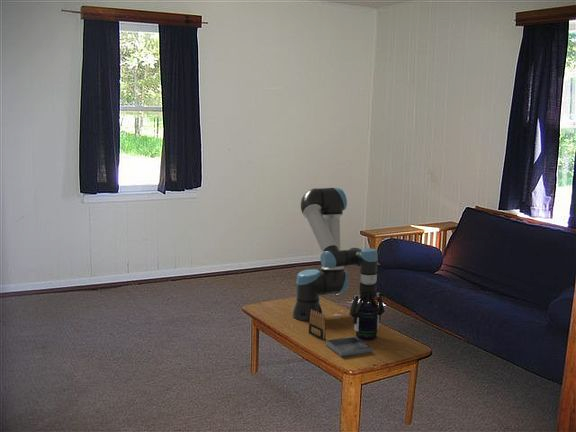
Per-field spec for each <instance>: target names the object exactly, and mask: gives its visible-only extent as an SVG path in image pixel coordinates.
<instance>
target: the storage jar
mask: <svg viewBox="0 0 576 432" xmlns="http://www.w3.org/2000/svg"><path fill="white" fill-rule="evenodd" d="M358 304H359V303H358ZM358 304H357V307H358ZM357 307H356V308H357ZM358 308H359V307H358ZM378 308H379V305H377V306H374V305H372V303H371V302H368V303H365V305H363V307H362V308H360V313H359V315H358V317H359V331H356V330H355V336H356V337H358V338H359V339H361V340H362V341H365V342H366V341H374V340H376V339H377V334H378V329H377V318H378Z"/></svg>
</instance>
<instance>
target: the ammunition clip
mask: <svg viewBox="0 0 576 432" xmlns="http://www.w3.org/2000/svg"><path fill="white" fill-rule="evenodd" d="M325 327H326V321H325V314H324V313H323V312H322V313H321V314H320V313H319V312H318V314H317V311H316V313H315V310H314V311H313V310H312V309H311V313H310V321H309V323H308V334H309V335H311V336H313V337H314V338H317V339H320V340H322V341H323V340H326V328H325Z"/></svg>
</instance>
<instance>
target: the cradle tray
mask: <svg viewBox="0 0 576 432" xmlns="http://www.w3.org/2000/svg"><path fill="white" fill-rule="evenodd" d="M325 347H327V348H328V349H330V350H331V351H333V352H334V353H335V354H336V355H338V356H339V357H340V358H349V357H355V356H360V355H368V354H373V346H371V345H370V344H368V343H366V341H365V340H361V339H359V338H358V337H356V335H354V336H346V337H340V338H332V339H325Z"/></svg>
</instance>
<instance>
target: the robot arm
mask: <svg viewBox="0 0 576 432" xmlns="http://www.w3.org/2000/svg"><path fill="white" fill-rule="evenodd" d="M347 205H348V200H347V196H346V193H345V192H344V191H343V189H341V188H340V187H323V188H322V187H321V188H319V187H318V188H311V189H309V190H307V191H306V192H305V193H304V194H303V196H302V198H301V201H300V210H301V211H300V212H301V213H302V215H303V217H304V218H306V220H307V221H308V223H309V226H310V228H311V230H312V233H313V235H314V237H315V239H316V241H317V243H318V246H319V248H320V250H321V254H320V264H321V268H320V270H319V269H315V268H314V269H312V268H311V269H304V270H301V271H300V272H298V273H297V275H296V282H295V283H296V297H295V298H296V299H295V300H296V302H295V304H294V307H293V310H292V318H294V319H296V320H298V321H299V320H300V321H305V322H308V321H309V322H310V313H311V309H312V310H313V311H314V310H315V313H316V311H317V314H318V312H319V313H320V314H321V313H322V314H323V309H322V306H321V303H320V297H321V296H327V295H338V294H343V293H344V292H346V290H347V289H348V287H349V282H350V281H349V279H350V278H349V276H348V275H349V274H348V272H347V271H346V270H345V267H354V266H358V267H360V268H359V269H360V272H359V274H360V275H359V276H360V277H359V294H353V296H352V297H353V300H352V304H351V305H350V311H349V316H351V317H352V324H354V326H353V327H354V328H353V330H354V331H355V332H356V331H359V317H358V315H359V313H360V308H362V307H363V305H365V303H372V305H374V306H378V318H377V330H379V329H380V322H381V316H382V315H383V314H385V307H384V303H383V298H382V297H383V294H382V293H381V292H379V291H377V280H378V279H377V278H378V277H377V276H378V262H379V261H378V260H379V259H378V250H377V249H375V248H369V247H368V248H367V247H365V248H362V249H361V248H359V247H350V248H349V249H345V250H343V249H342V250H341V223H340V222H341V219H340V218H341V216H343V212H344V211H345V210H346V209H347ZM375 298H376V299H375ZM357 304H358V307H359V308H358V307H357Z"/></svg>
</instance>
